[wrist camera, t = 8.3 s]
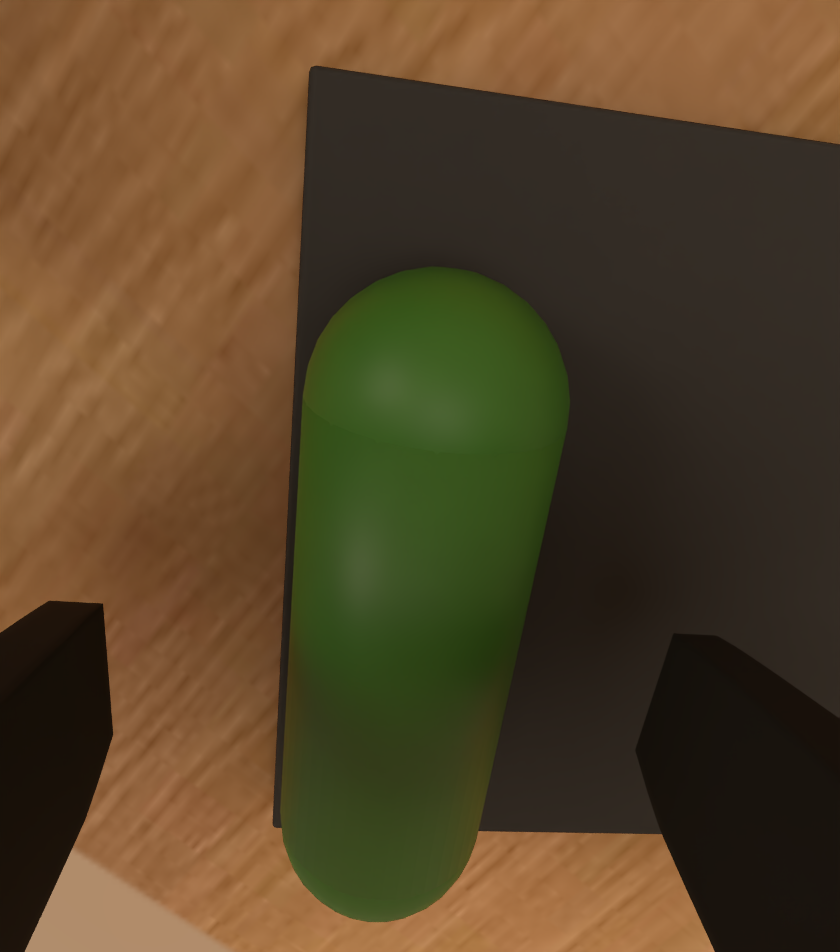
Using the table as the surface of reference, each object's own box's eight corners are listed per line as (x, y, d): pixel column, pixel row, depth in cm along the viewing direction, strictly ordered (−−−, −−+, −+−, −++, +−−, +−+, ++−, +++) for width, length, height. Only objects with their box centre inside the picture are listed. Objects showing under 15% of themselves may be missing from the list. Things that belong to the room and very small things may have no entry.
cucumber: (443, 788, 13) (486, 958, 11) (277, 798, 13) (275, 984, 10) (539, 263, 9) (651, 309, 7) (306, 238, 9) (317, 275, 6)
